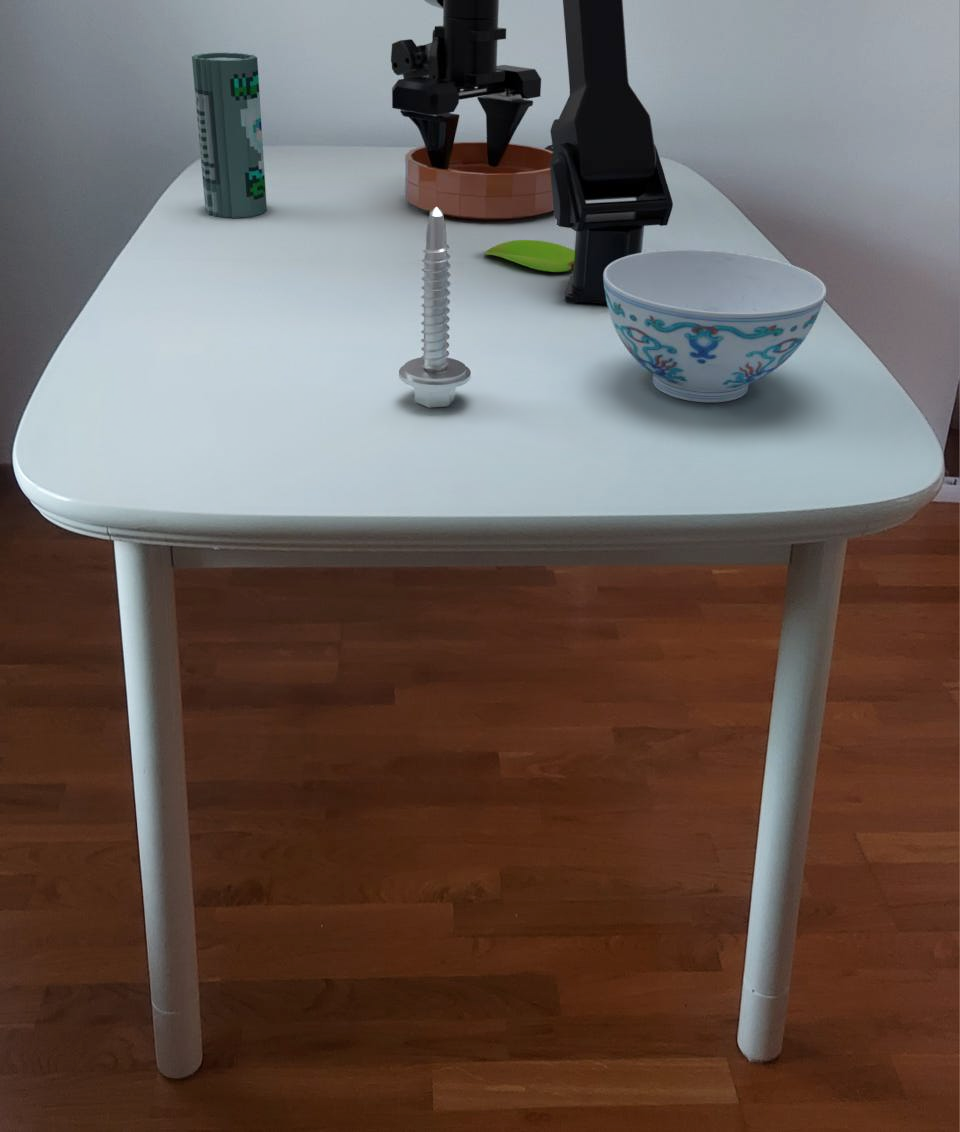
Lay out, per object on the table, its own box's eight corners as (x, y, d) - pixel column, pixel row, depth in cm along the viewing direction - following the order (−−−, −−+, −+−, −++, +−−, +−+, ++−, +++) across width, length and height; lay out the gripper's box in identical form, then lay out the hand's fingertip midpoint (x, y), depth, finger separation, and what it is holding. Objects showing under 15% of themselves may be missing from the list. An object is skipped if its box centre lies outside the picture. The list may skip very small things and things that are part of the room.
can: (271, 215, 122) (261, 60, 115) (212, 219, 120) (199, 61, 113) (258, 202, 127) (248, 52, 120) (202, 205, 125) (188, 53, 118)
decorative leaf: (524, 283, 105) (525, 273, 105) (477, 253, 112) (477, 243, 111) (596, 268, 108) (596, 258, 108) (546, 240, 115) (546, 230, 114)
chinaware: (642, 435, 76) (654, 320, 72) (566, 356, 88) (573, 254, 84) (848, 417, 80) (870, 306, 76) (747, 343, 92) (761, 244, 88)
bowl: (554, 228, 121) (557, 178, 119) (391, 217, 123) (390, 168, 121) (568, 191, 136) (571, 146, 133) (422, 182, 138) (422, 138, 135)
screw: (432, 420, 77) (384, 399, 80) (484, 402, 80) (436, 382, 83) (434, 220, 71) (382, 205, 74) (491, 208, 74) (438, 194, 76)
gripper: (467, 5, 132) (464, 150, 140) (351, 15, 119) (355, 173, 127) (547, 14, 126) (539, 164, 134) (434, 25, 113) (433, 190, 121)
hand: (467, 172), depth 129 cm, fingers open, 9 cm apart
